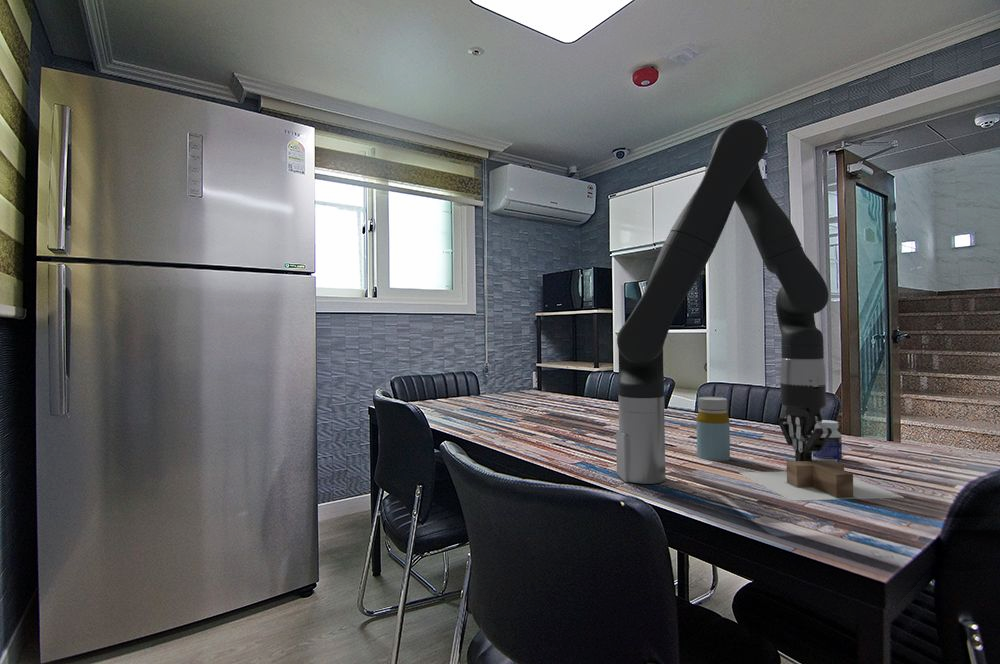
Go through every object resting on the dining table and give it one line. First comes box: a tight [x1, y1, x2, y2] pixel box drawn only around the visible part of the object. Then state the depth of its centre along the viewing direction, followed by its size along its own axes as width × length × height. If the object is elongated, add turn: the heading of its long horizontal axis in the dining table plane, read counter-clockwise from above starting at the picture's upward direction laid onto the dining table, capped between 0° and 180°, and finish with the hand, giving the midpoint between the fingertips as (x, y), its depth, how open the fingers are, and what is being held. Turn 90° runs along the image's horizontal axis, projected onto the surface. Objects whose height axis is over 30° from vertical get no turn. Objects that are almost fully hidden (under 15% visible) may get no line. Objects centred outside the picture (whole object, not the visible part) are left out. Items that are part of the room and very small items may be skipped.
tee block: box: [786, 460, 854, 498], centre depth 89 cm, size 9×9×4 cm
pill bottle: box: [812, 419, 843, 463], centre depth 111 cm, size 6×6×10 cm
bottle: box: [696, 396, 731, 462], centre depth 114 cm, size 7×7×15 cm
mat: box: [739, 470, 905, 502], centre depth 93 cm, size 20×17×2 cm
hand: (803, 470), depth 96 cm, fingers closed
